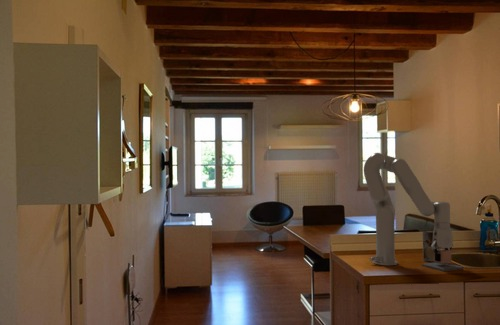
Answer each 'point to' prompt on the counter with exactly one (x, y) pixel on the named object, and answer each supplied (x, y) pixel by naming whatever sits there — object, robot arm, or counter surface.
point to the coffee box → (428, 246)
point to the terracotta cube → (444, 256)
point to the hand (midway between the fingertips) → (442, 260)
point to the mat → (442, 266)
